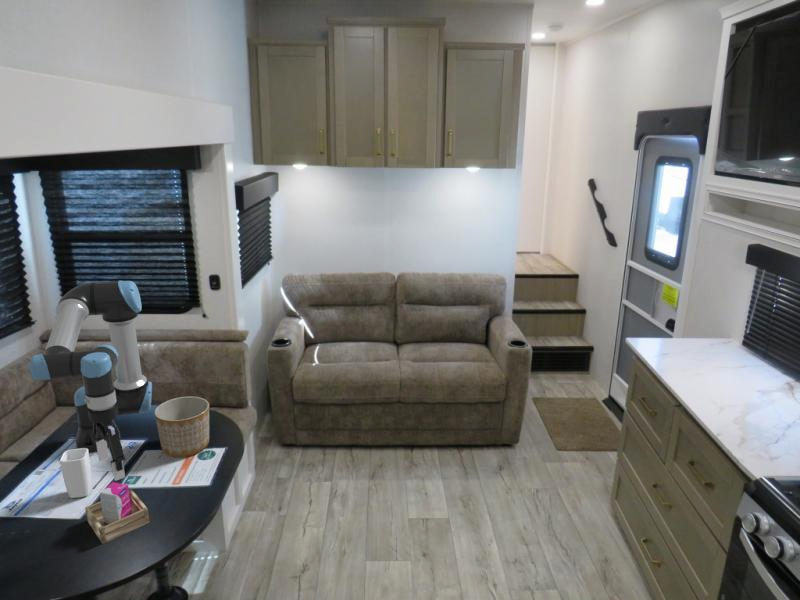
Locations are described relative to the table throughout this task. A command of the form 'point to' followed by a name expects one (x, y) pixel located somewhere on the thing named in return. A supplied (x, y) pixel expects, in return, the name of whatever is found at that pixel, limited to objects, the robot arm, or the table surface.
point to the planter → (183, 425)
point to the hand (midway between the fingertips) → (111, 468)
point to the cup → (76, 472)
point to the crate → (120, 526)
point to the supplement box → (115, 502)
